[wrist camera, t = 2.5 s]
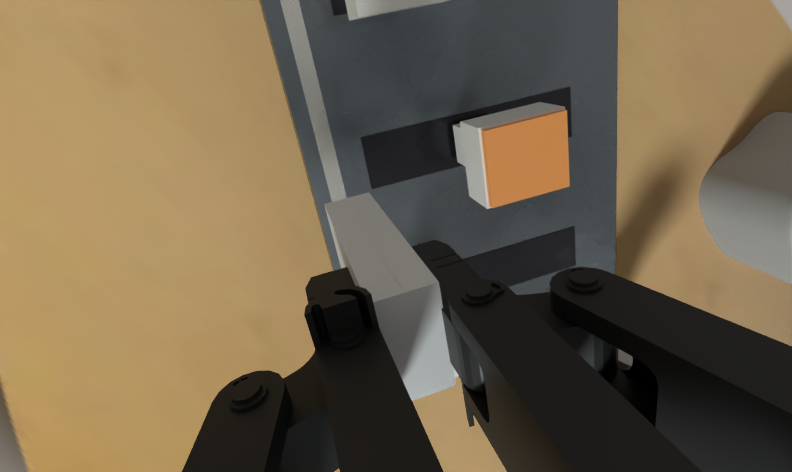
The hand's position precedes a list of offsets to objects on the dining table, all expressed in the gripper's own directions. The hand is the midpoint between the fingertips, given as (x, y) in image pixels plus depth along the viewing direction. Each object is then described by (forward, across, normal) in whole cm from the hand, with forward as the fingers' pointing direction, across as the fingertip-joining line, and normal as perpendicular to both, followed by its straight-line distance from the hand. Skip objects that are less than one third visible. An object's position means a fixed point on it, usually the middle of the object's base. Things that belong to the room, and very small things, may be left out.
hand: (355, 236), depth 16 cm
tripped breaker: (+9, -8, 0) cm, 12 cm away
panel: (+13, -8, 0) cm, 16 cm away
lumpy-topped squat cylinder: (+13, -34, +12) cm, 39 cm away
